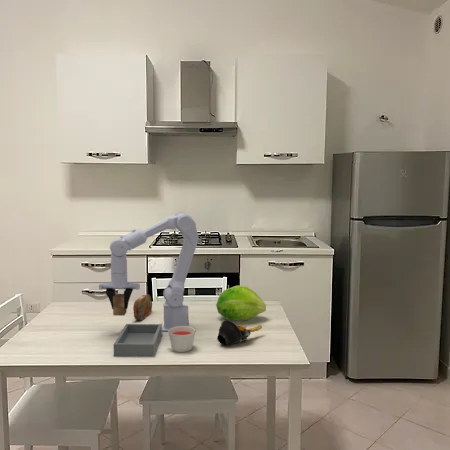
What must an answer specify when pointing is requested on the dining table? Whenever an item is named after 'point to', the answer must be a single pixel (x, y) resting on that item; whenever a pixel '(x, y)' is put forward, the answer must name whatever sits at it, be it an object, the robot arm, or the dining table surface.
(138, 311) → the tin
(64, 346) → the dining table surface
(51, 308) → the dining table surface
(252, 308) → the green papaya
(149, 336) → the bin
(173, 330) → the candle
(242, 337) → the fried shrimp in bowl
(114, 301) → the block
